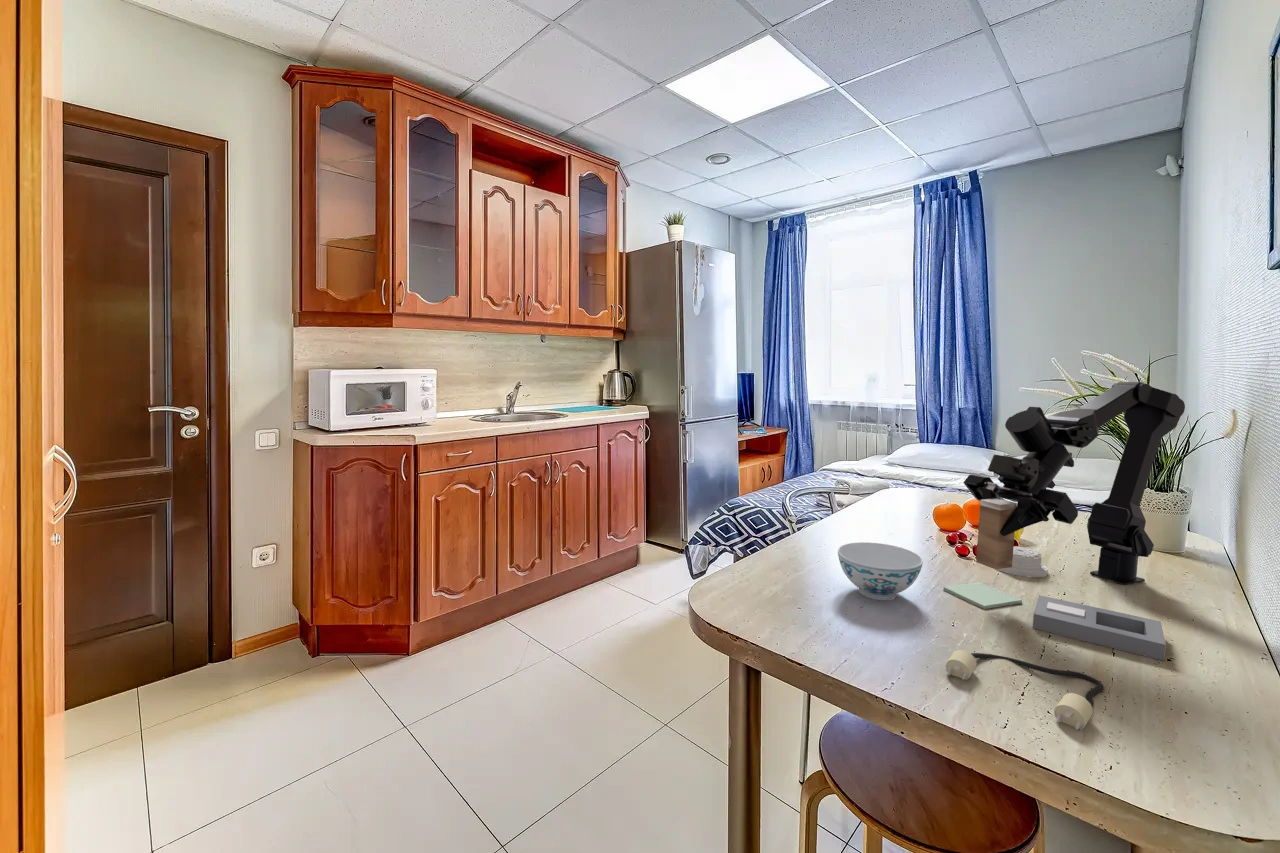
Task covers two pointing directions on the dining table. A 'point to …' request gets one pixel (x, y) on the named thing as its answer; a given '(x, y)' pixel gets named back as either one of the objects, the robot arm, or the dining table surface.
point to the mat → (982, 595)
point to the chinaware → (879, 568)
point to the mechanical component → (1026, 563)
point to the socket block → (1100, 626)
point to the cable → (1071, 705)
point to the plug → (995, 534)
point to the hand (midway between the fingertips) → (990, 530)
